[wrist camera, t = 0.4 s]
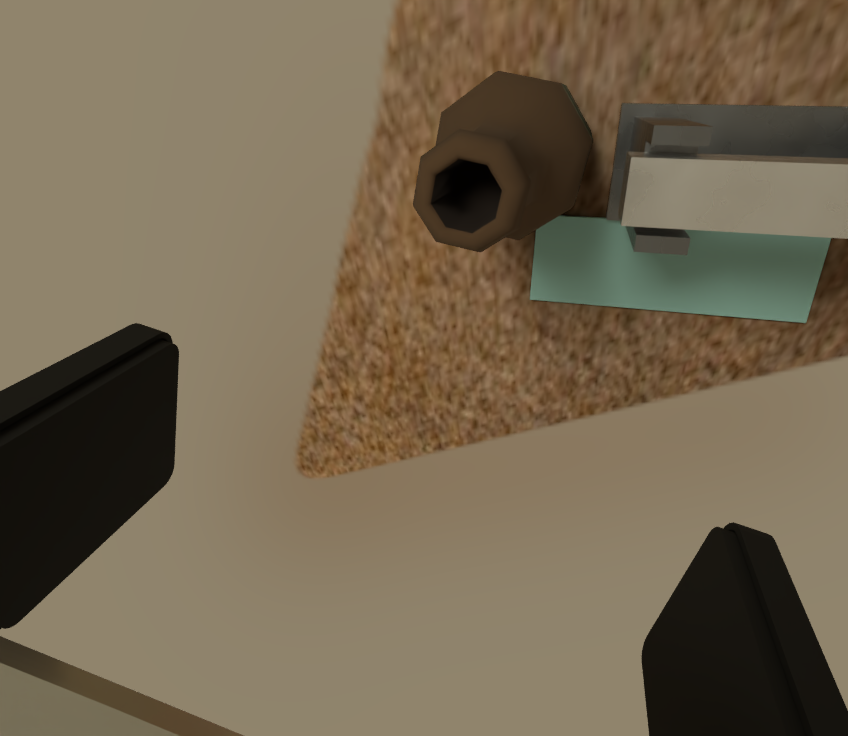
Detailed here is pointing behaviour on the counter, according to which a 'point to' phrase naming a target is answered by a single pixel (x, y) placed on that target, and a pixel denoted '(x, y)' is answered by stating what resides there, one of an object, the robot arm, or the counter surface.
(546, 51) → the counter surface
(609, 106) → the counter surface
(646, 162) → the rail
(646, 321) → the counter surface
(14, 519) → the robot arm
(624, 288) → the mat
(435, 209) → the beer bottle
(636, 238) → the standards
